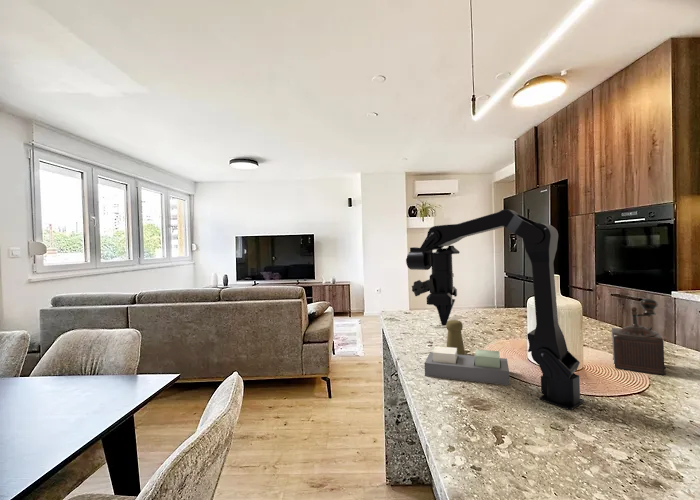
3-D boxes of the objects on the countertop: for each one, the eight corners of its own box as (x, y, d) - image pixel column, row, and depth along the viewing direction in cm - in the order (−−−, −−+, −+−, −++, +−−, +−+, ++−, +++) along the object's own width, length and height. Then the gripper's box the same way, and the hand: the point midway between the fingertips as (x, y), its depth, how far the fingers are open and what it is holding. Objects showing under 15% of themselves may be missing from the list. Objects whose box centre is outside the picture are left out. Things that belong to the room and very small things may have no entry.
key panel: (507, 371, 91) (506, 358, 91) (509, 385, 82) (509, 371, 82) (430, 363, 99) (430, 352, 99) (424, 375, 90) (424, 362, 90)
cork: (466, 357, 104) (465, 322, 104) (446, 356, 105) (445, 322, 105) (463, 351, 110) (462, 318, 110) (445, 350, 111) (443, 318, 111)
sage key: (499, 362, 90) (498, 351, 90) (500, 370, 85) (499, 358, 85) (476, 360, 93) (475, 349, 93) (475, 367, 87) (474, 355, 87)
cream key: (457, 359, 95) (457, 347, 95) (455, 366, 89) (455, 354, 89) (436, 357, 97) (435, 346, 97) (433, 363, 91) (432, 352, 91)
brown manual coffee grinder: (669, 376, 84) (667, 306, 84) (614, 368, 90) (611, 303, 90) (659, 359, 96) (657, 298, 97) (611, 353, 103) (609, 296, 103)
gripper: (419, 268, 105) (421, 317, 105) (406, 273, 87) (408, 331, 87) (456, 268, 100) (458, 319, 100) (449, 272, 83) (452, 334, 83)
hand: (443, 325), depth 93 cm, fingers closed
